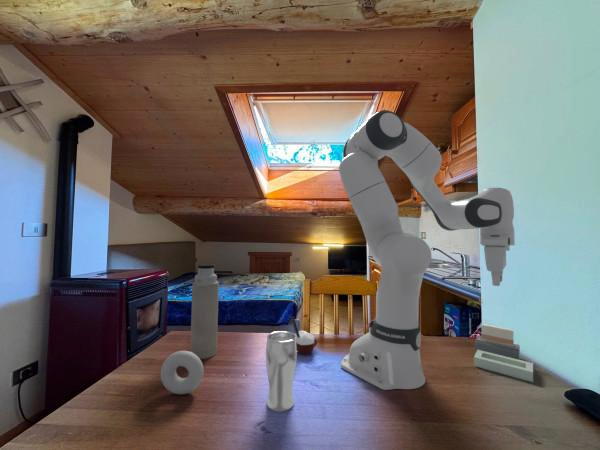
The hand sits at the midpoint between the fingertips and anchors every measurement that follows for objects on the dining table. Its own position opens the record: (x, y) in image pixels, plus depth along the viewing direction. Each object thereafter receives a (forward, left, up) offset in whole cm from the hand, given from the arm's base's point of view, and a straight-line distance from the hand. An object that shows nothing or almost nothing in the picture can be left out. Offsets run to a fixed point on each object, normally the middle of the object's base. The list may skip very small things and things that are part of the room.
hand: (497, 283), depth 86 cm
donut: (-55, -74, -24) cm, 95 cm away
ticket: (0, 0, -23) cm, 23 cm away
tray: (+2, -9, -24) cm, 25 cm away
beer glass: (-35, -61, -24) cm, 74 cm away
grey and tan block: (0, 0, -24) cm, 24 cm away
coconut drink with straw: (-48, -37, -24) cm, 65 cm away
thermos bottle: (-71, -59, -24) cm, 96 cm away
